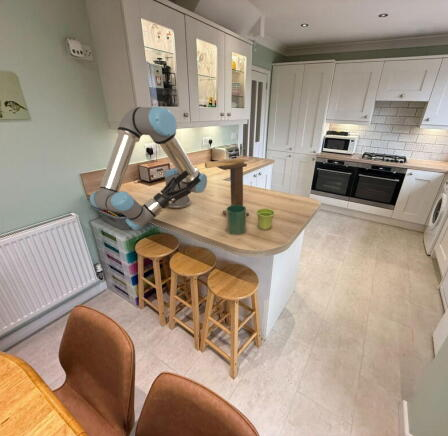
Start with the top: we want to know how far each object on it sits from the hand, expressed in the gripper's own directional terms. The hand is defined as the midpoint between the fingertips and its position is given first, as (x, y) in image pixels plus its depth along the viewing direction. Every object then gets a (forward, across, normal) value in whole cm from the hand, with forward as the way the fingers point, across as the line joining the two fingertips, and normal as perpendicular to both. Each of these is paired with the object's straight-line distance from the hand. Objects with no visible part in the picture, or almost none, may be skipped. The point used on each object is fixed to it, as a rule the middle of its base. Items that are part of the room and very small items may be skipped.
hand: (193, 175), depth 112 cm
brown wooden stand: (+6, 0, -35) cm, 35 cm away
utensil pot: (-1, +16, -31) cm, 35 cm away
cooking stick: (+17, 0, -7) cm, 18 cm away
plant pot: (+11, +22, -38) cm, 45 cm away
